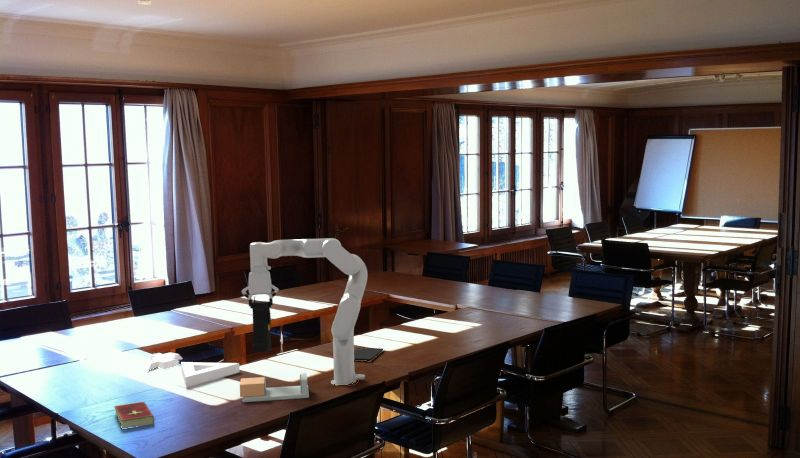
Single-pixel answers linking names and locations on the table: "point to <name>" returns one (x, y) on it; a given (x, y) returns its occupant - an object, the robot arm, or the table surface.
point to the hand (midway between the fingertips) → (260, 307)
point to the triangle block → (206, 371)
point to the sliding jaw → (253, 387)
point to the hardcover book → (134, 415)
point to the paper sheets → (163, 360)
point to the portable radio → (261, 326)
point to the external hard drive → (366, 353)
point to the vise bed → (283, 392)
